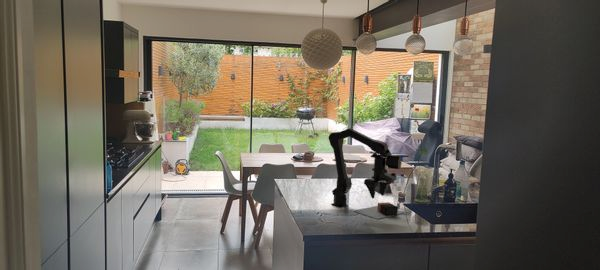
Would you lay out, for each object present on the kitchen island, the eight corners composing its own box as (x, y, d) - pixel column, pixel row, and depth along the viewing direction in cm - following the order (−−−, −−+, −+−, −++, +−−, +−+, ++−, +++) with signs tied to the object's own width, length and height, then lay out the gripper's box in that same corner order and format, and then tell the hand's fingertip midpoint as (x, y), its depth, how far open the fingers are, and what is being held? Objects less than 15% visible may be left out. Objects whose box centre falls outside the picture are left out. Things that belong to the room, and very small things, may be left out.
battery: (385, 216, 213) (376, 210, 222) (397, 215, 215) (388, 209, 224) (386, 207, 212) (376, 202, 222) (398, 206, 214) (388, 201, 224)
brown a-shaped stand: (378, 193, 263) (379, 173, 262) (374, 190, 269) (375, 171, 268) (392, 193, 265) (393, 174, 264) (388, 190, 271) (389, 172, 269)
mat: (353, 211, 220) (353, 210, 220) (378, 206, 233) (378, 205, 232) (377, 219, 208) (377, 218, 208) (403, 213, 220) (403, 212, 220)
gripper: (384, 171, 205) (382, 203, 207) (403, 167, 219) (400, 197, 221) (364, 167, 213) (362, 198, 214) (383, 164, 227) (382, 193, 228)
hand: (377, 197), depth 219 cm, fingers open, 9 cm apart
